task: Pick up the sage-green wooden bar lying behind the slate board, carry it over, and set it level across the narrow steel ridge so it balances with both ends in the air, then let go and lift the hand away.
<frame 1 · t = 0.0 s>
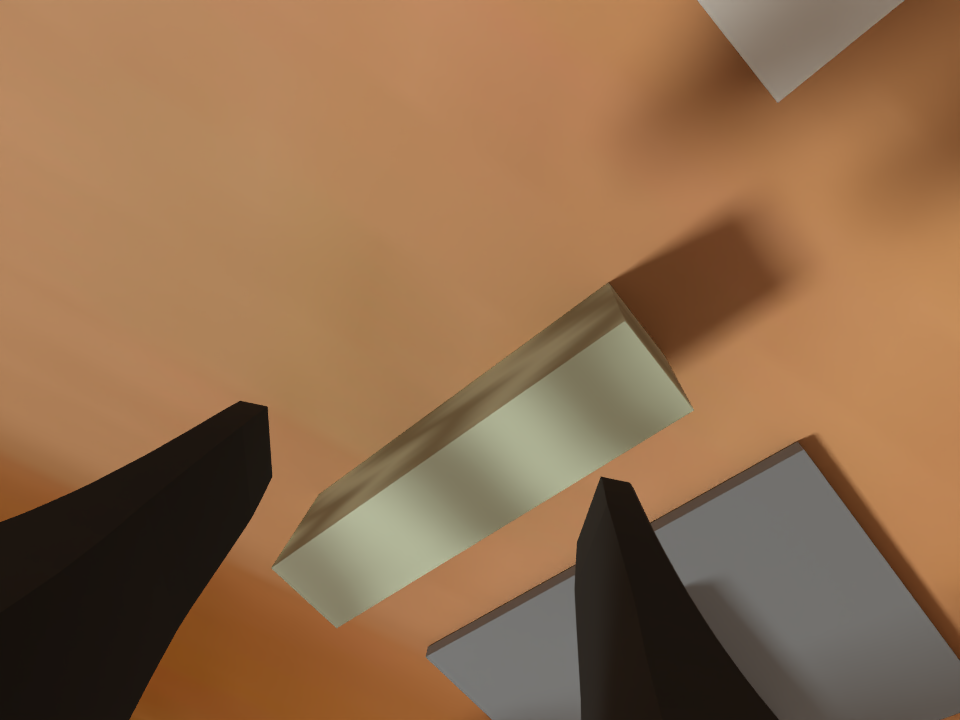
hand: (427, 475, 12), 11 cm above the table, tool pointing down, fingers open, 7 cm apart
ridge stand: (688, 667, 27), on the table
bar: (476, 428, 24), on the table
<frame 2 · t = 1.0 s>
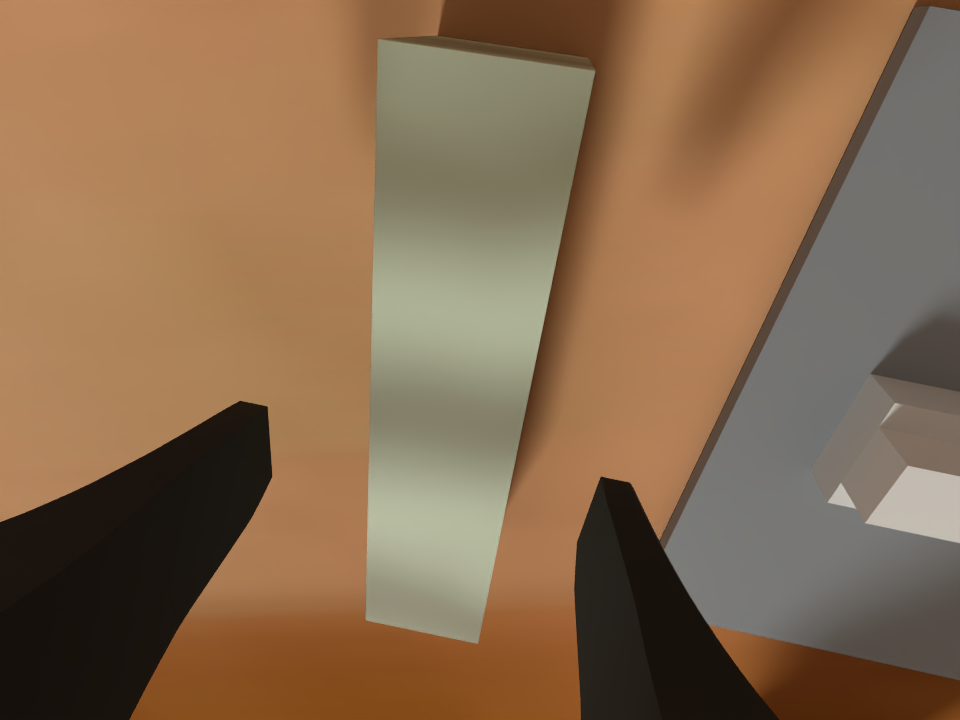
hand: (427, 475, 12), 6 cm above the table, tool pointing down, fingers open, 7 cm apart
bar: (474, 335, 17), on the table
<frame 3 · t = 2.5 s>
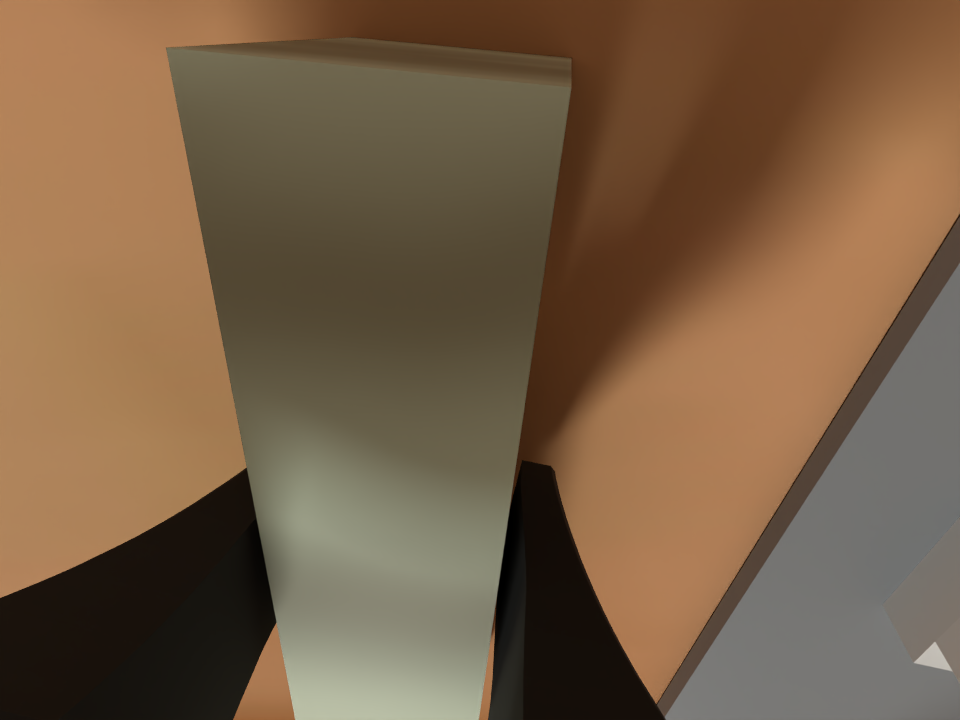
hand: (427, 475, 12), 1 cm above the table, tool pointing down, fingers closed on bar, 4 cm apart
bar: (441, 431, 13), on the table, touching gripper
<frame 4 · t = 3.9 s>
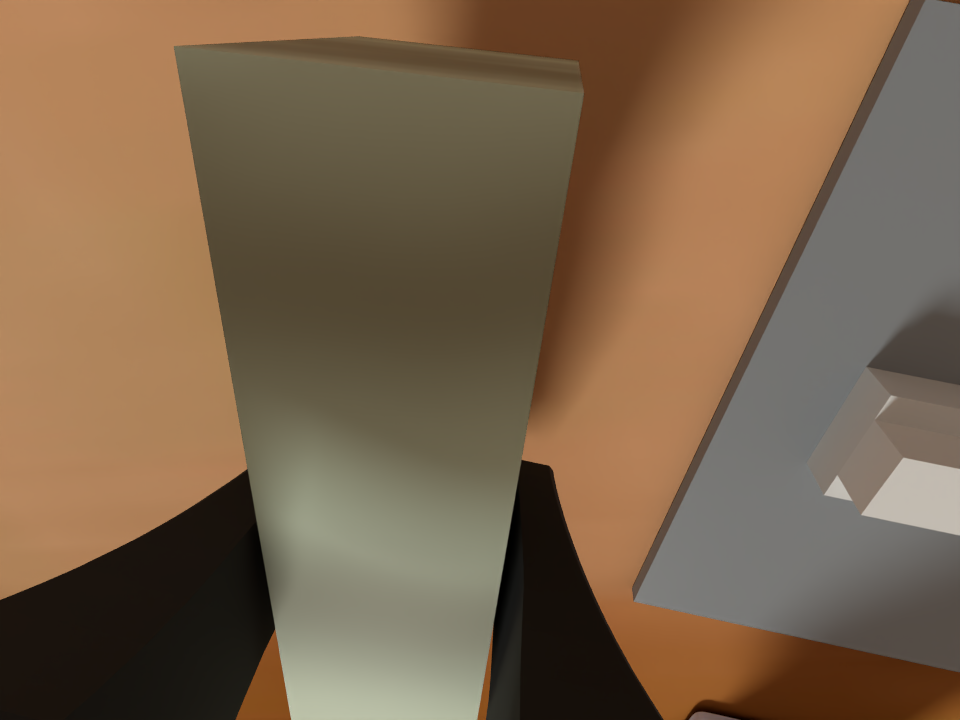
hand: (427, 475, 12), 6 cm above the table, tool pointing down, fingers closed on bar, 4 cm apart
bar: (440, 433, 13), point 5 cm above the table, touching gripper
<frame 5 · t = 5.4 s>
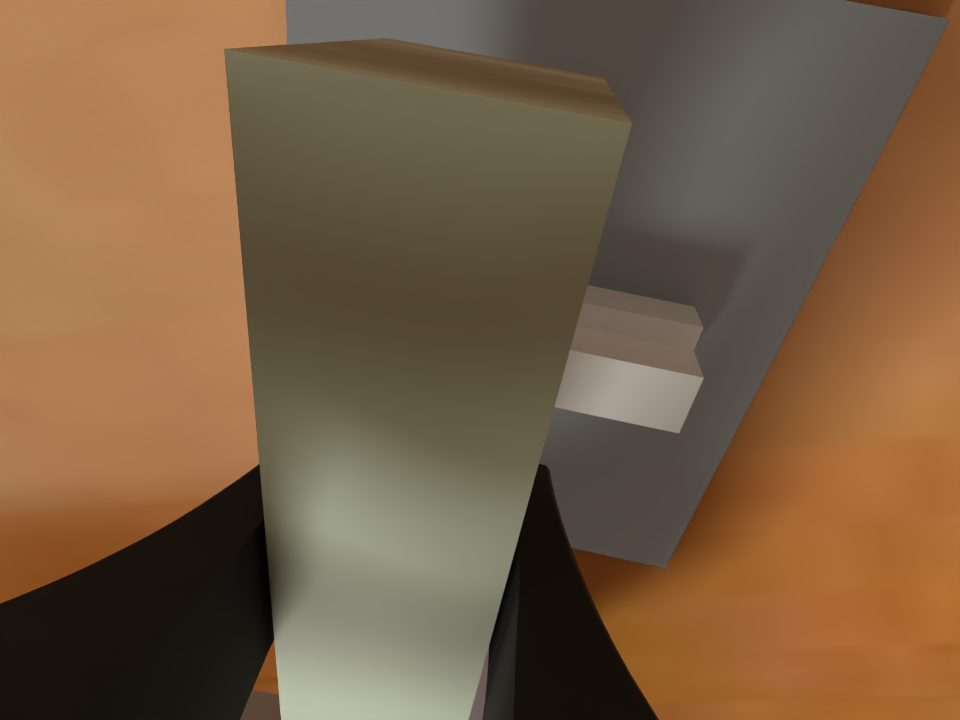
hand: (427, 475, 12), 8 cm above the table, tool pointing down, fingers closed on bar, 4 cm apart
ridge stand: (526, 316, 19), on the table
bar: (440, 434, 13), point 7 cm above the table, touching gripper
when the fingers open (6 cm above the table, at t = 7.0 s): bar stays where it is, resting on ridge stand.
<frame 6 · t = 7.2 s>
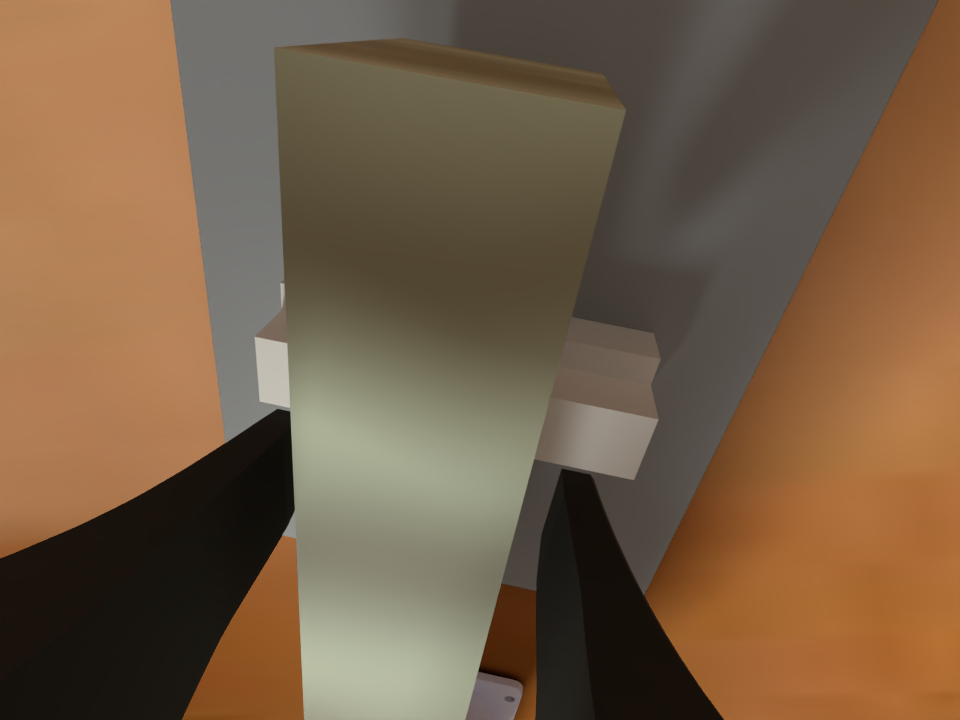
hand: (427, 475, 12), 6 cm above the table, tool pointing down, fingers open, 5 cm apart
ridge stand: (470, 342, 17), on the table
bar: (449, 412, 14), point 3 cm above the table, touching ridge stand
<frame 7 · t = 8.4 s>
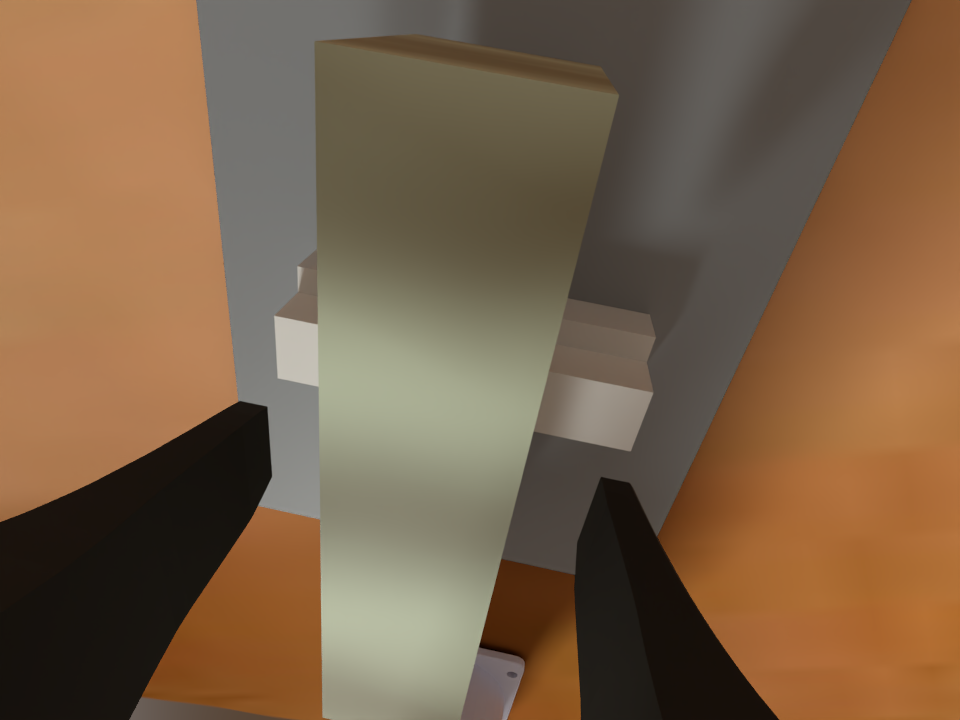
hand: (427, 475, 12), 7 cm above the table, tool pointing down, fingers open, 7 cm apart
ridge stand: (475, 324, 18), on the table
bar: (456, 387, 15), point 3 cm above the table, touching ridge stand
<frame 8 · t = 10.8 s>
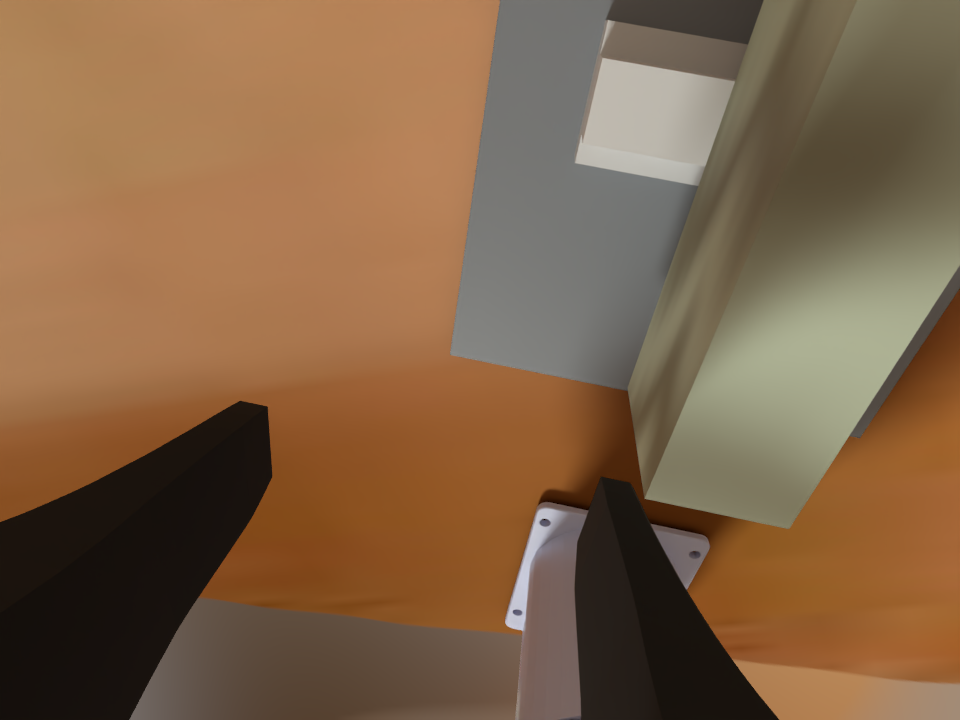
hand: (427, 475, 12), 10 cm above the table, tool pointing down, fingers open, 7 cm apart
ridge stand: (752, 118, 17), on the table
bar: (790, 141, 14), point 3 cm above the table, touching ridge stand
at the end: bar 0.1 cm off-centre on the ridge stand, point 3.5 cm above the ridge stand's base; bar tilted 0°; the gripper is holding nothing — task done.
